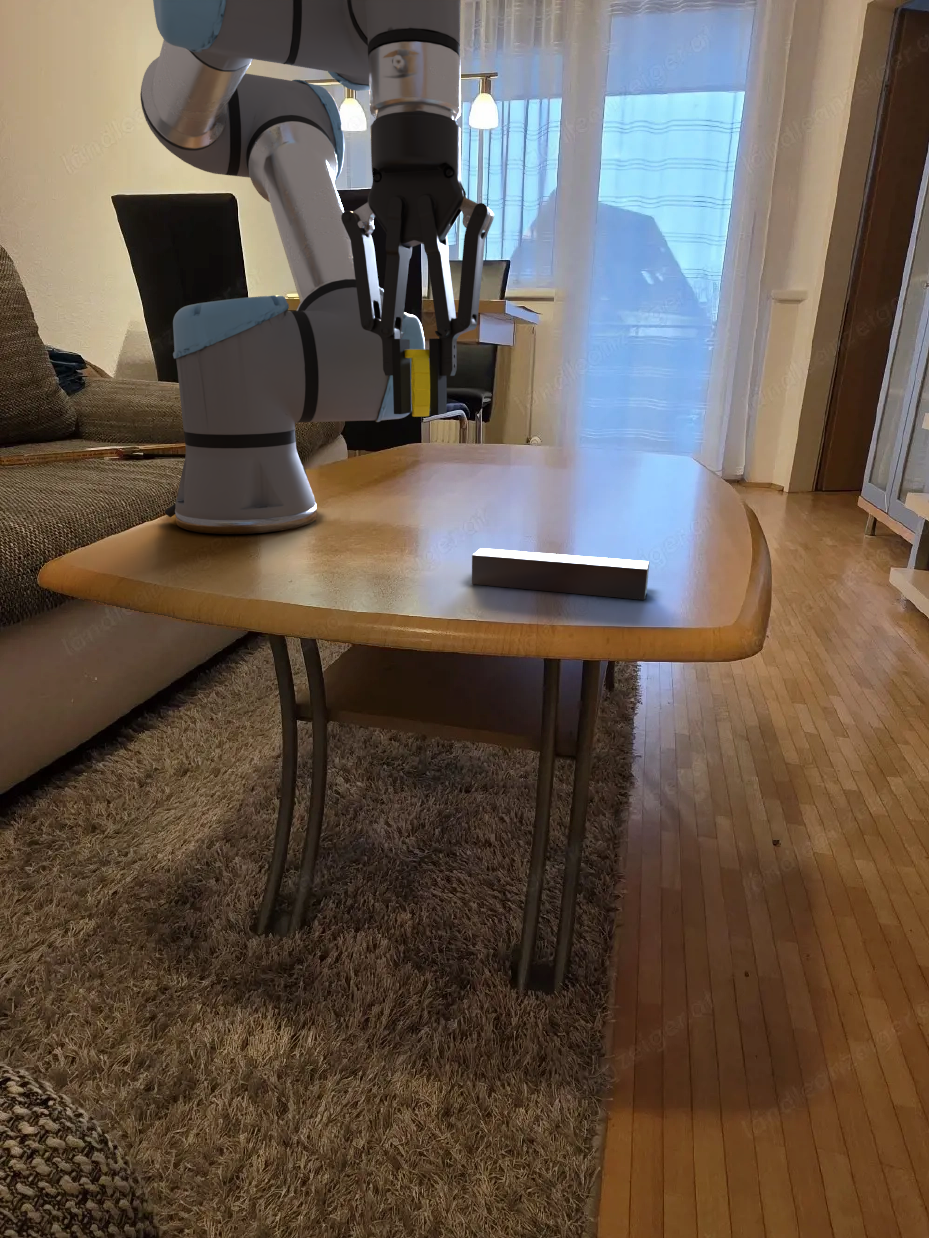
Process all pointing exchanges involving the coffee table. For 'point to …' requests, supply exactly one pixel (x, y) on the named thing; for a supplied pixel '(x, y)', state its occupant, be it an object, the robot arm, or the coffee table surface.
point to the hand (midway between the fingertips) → (420, 413)
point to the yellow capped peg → (419, 381)
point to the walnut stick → (561, 573)
